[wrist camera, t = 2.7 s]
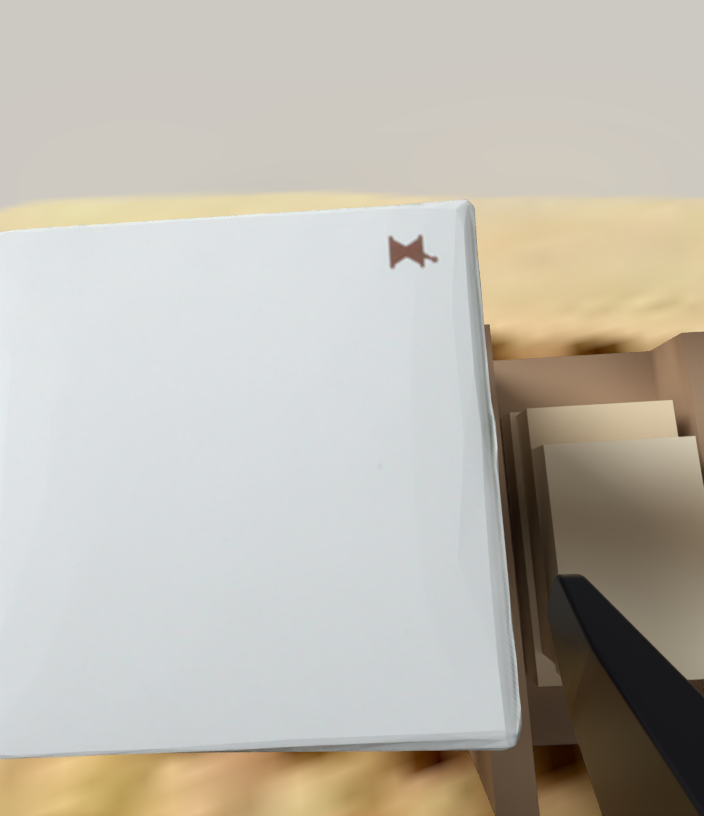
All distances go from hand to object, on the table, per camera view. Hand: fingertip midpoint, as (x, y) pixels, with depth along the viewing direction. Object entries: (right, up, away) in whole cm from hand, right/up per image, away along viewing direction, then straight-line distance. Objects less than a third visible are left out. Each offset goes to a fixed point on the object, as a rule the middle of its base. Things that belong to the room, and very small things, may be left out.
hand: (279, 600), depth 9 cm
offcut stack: (+9, -1, +9) cm, 12 cm away
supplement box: (0, 0, +11) cm, 11 cm away
